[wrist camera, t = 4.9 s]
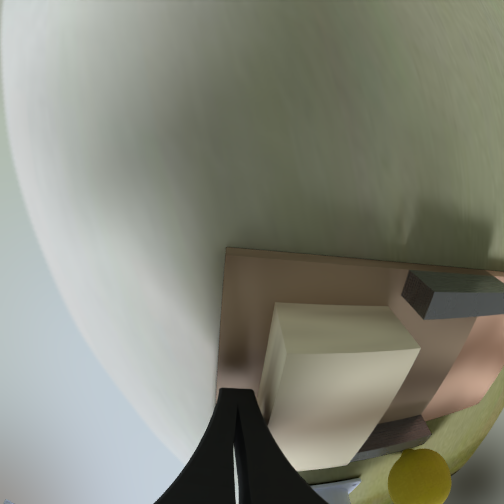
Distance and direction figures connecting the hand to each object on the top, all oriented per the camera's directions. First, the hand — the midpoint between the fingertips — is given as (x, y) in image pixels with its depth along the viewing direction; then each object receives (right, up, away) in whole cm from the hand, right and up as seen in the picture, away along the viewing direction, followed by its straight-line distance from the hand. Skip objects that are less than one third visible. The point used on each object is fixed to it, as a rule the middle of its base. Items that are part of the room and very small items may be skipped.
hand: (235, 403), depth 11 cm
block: (+4, 0, +2) cm, 4 cm away
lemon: (+15, -12, +8) cm, 20 cm away
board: (+10, 0, +3) cm, 10 cm away
